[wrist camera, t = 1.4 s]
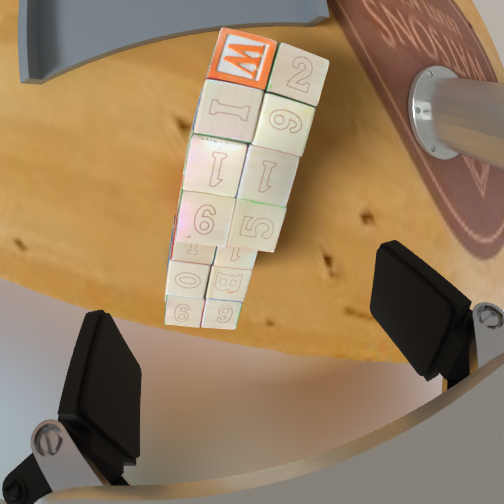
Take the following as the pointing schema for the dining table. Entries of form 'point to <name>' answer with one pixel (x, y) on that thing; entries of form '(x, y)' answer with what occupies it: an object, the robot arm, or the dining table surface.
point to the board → (135, 26)
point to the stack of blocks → (238, 173)
